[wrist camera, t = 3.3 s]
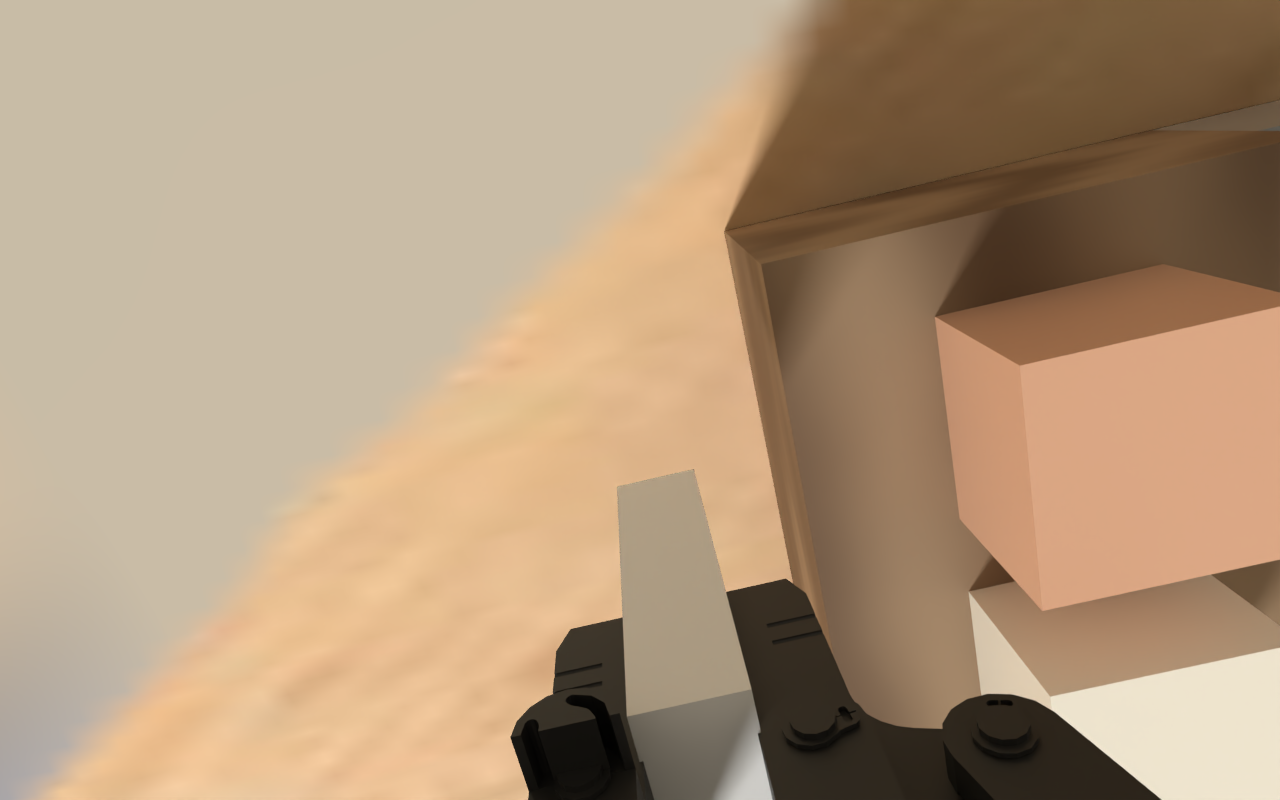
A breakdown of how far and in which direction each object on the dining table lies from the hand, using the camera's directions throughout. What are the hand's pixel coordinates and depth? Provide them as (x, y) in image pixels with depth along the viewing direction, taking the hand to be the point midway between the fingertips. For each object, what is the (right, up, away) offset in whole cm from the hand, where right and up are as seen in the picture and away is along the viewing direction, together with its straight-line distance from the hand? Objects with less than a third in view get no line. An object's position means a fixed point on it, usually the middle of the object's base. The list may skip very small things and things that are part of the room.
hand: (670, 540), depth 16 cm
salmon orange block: (+9, +3, +3) cm, 10 cm away
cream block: (+10, -4, +5) cm, 12 cm away
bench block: (+9, +1, +9) cm, 13 cm away
